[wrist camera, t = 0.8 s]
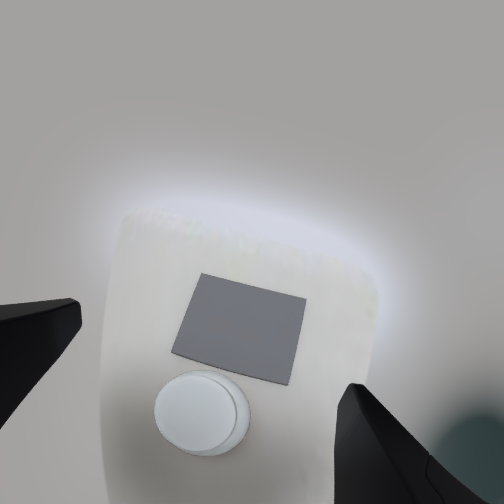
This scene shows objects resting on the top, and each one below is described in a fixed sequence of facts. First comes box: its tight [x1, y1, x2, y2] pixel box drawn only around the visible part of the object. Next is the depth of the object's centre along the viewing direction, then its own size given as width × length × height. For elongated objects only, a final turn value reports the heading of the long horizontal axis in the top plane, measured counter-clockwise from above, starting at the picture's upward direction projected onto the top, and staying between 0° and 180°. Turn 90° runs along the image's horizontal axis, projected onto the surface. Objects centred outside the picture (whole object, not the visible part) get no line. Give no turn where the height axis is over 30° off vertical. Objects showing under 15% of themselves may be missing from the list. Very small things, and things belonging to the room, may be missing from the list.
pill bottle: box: [154, 370, 251, 456], centre depth 15 cm, size 5×5×10 cm
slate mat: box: [171, 273, 306, 385], centre depth 23 cm, size 8×10×1 cm
